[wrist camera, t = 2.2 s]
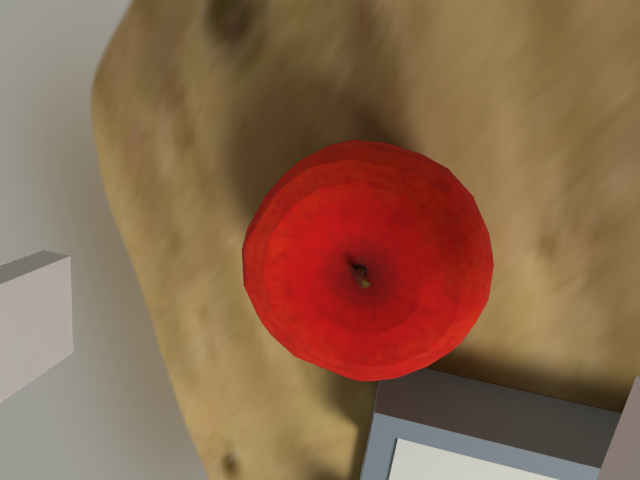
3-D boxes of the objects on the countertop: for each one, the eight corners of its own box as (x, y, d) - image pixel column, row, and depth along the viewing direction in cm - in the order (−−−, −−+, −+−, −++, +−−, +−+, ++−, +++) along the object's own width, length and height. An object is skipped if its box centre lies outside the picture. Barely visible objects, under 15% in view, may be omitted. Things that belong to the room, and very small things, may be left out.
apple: (319, 325, 24) (273, 419, 17) (264, 165, 22) (187, 192, 15) (493, 288, 22) (530, 381, 14) (447, 105, 20) (462, 103, 12)
